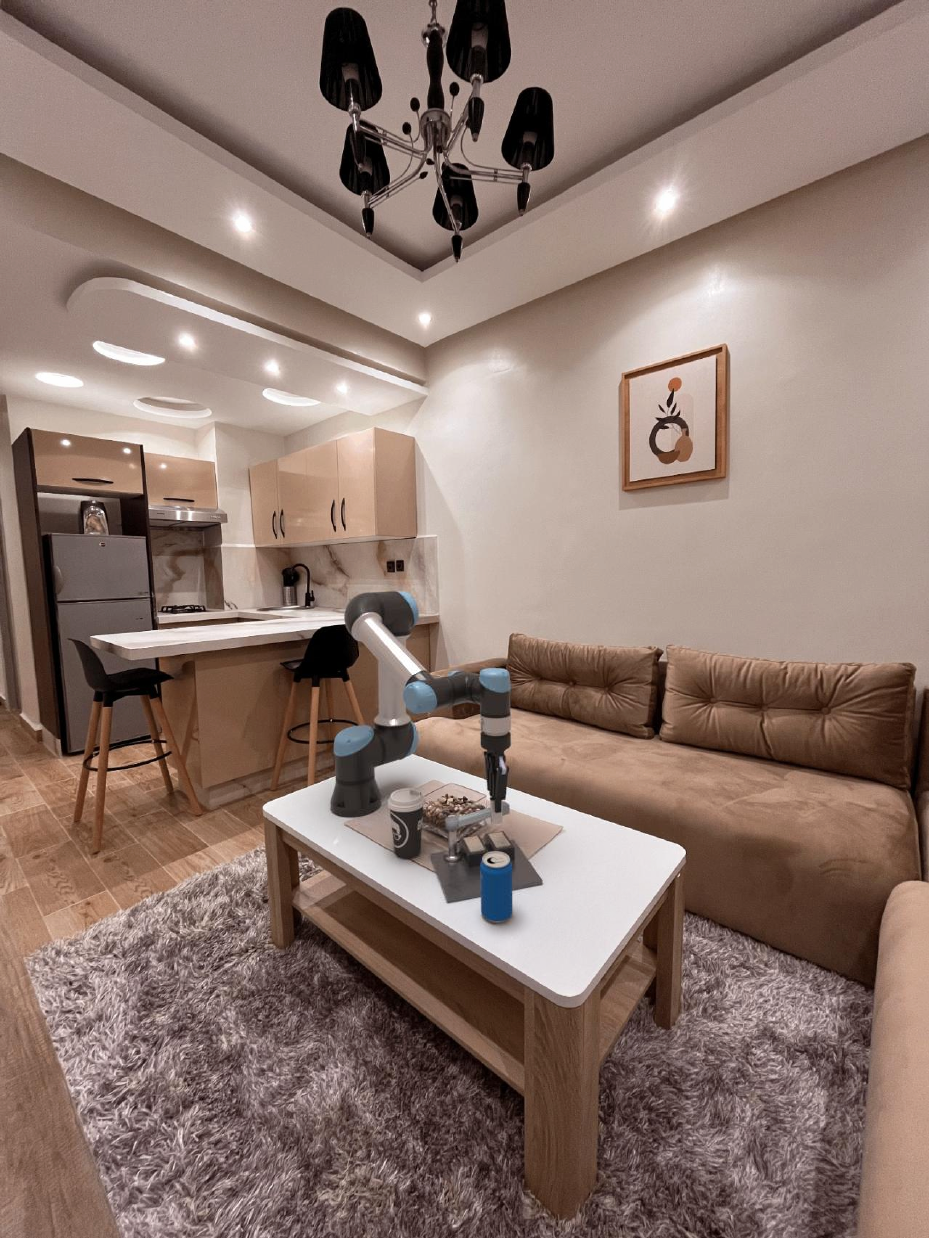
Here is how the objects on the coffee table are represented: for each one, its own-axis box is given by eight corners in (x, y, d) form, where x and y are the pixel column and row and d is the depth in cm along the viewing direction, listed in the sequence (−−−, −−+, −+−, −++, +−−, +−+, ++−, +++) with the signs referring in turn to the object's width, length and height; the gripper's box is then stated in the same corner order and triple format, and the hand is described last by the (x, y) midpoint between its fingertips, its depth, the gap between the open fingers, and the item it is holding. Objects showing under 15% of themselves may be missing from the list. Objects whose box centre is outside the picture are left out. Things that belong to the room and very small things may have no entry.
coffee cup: (420, 864, 121) (418, 805, 119) (383, 860, 122) (381, 802, 121) (431, 843, 130) (429, 788, 128) (396, 840, 132) (394, 785, 130)
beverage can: (479, 905, 106) (478, 851, 105) (509, 902, 106) (509, 849, 105) (483, 926, 99) (482, 869, 98) (515, 924, 100) (514, 867, 99)
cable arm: (443, 827, 122) (443, 818, 122) (503, 809, 131) (503, 800, 131) (449, 833, 119) (449, 823, 119) (510, 814, 128) (510, 805, 128)
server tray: (430, 857, 124) (429, 825, 123) (513, 843, 129) (513, 812, 129) (447, 903, 106) (446, 866, 106) (542, 884, 112) (542, 849, 111)
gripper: (473, 725, 129) (475, 813, 131) (489, 740, 117) (490, 837, 119) (501, 722, 131) (502, 809, 133) (519, 737, 118) (519, 833, 120)
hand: (496, 822), depth 126 cm, fingers closed
